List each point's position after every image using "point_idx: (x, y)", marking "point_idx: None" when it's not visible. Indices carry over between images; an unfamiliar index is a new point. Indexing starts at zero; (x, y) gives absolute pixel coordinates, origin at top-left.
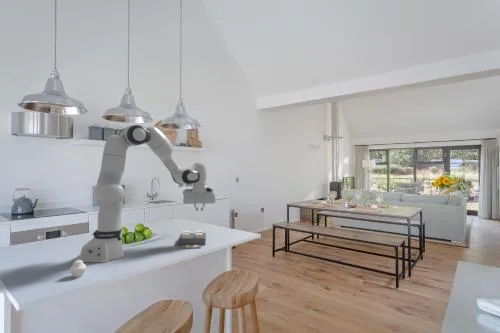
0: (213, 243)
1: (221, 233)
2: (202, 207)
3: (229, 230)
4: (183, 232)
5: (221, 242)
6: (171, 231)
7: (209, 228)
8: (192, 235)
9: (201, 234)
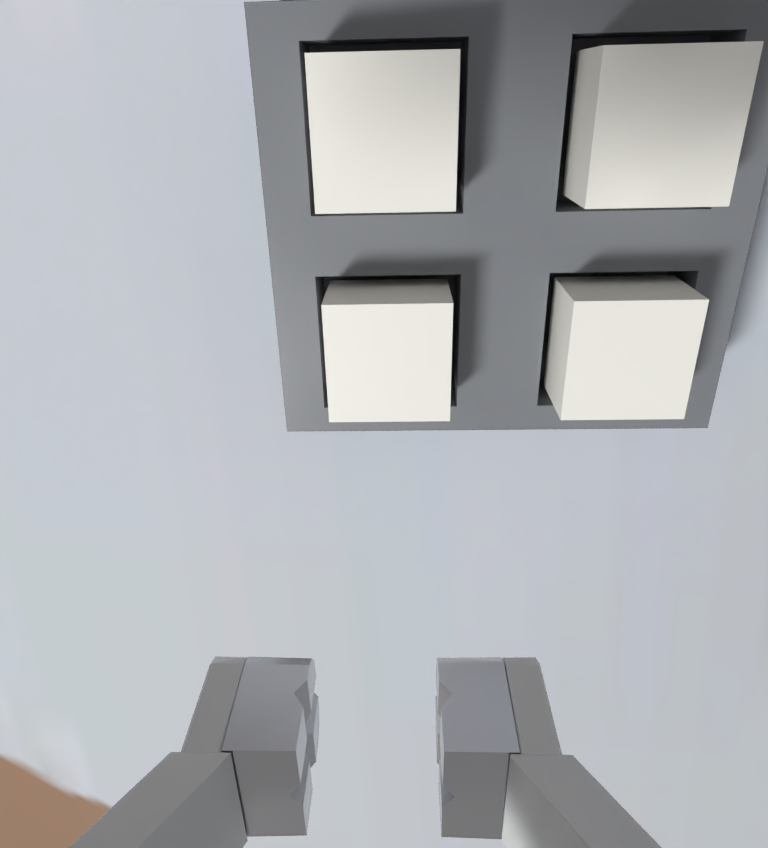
0: (144, 116)
1: (131, 631)
2: (210, 775)
3: (61, 738)
4: (695, 299)
5: (25, 170)
6: (753, 752)
7: (311, 822)
8: (510, 271)
9: (321, 63)
